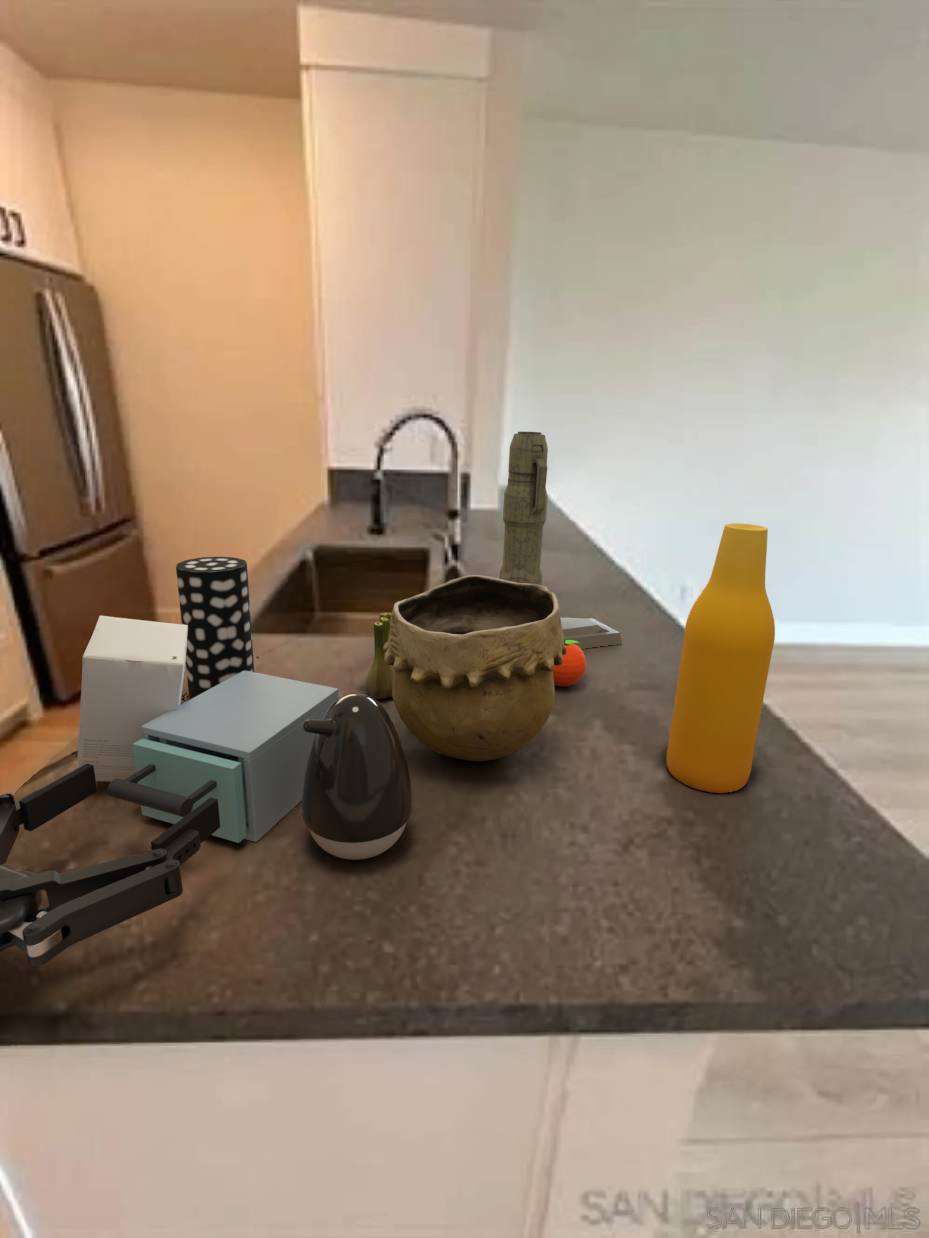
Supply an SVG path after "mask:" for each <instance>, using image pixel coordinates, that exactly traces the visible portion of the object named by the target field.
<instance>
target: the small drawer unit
mask: <svg viewBox="0 0 929 1238" xmlns="http://www.w3.org/2000/svg"><path fill="white" fill-rule="evenodd" d="M339 698H340V697H339V688H338V687H332V686H328V685H322V684H316V683H313V682H312V683H311V682H305V681H301V680H296V679H291V678H286V677H280V676H275V675H270V674H266V673H265V674H264V673H260V672H256V671H254V672H250V671H245V670H244V671H242V672H240V673H238V674H237V675H235V676H233V677H231V678H229V679H227V680H225V681H224V682H222V683H220V684H218V685H216V686H214V687H213V688H211V689H209V690H207V691H205V692H203V693H201V694H200V695H198V696H196V697H194V698H192V699H190V700H189V699H188V700H186V701H185V702H182V704H181V703H180V705H179V707H178V710H172V711H168V712H166V713H165V714H163V715H161V716H159V717H157V718H155V719H153V720H152V721H150V722H148V723H146V724H144V725H142V726H141V732H142V739H147V740H151V741H155V742H159V743H160V740H159V738H163V739H167V740H171V741H175V742H179V743H183V744H187V745H191V746H196V747H200V748H204V749H208V750H212V751H216V752H220V753H224V754H228V755H233V756H237V757H241V758H244V772H245V785H246V798H247V811H248V823H246V833H247V836H246V837H245V838H244V839H243V840H246V841H250V842H254V843H258V842H259V841H260V840H261V838H263V837H264V836H265V835H266V834H267V833H268V832H269V831H270V830H272V829H273V827H275V826H276V825H277V824H278V823H280V821H281V820H282V819H284V817H286V816H287V814H288V815H289V813H291V811H292V810H293V809H294V808H296V806H297V805H298V804H299V803H301V802H302V795H303V786H304V778H305V772H306V767H307V762H308V758H309V754H310V751H311V747H312V744H313V741H314V738H315V735H316V734H315V733H309V732H305V731H304V729H303V723H304V721H305V720H322V719H323V717H324V715H325V714H326V712H327V711H328V709H329V708H330V706H331V705H332V704H333V703H334V702H335V701H336V700H337V699H339Z"/></svg>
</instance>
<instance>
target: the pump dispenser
mask: <svg viewBox="0 0 929 1238" xmlns="http://www.w3.org/2000/svg"><path fill="white" fill-rule="evenodd" d="M303 729H304V731H305V732H309V733H315V734H316V735H315V738H314V741H313V744H312V747H311V751H310V754H309V758H308V762H307V767H306V772H305V778H304V786H303V795H302V801H301V814H302V819H303V822H304V824H305V826H306V827H307V828H308V831H309V833H310V835H311V837H312V839H313V840H314V842H315V843H316V844H317V845H318V846H319V847H320V848H321V849H322V850H324V851H325V852H326V853H328V854H329V855H331V856H334V857H336V858H340V859H344V860H351V861H353V860H356V861H357V860H366V859H370V858H374V857H376V856H379V855H381V854H383V853H385V852H386V851H387V850H389V849H390V848H392V847H393V846H394V845H395V843H397V841H398V840H399V838H400V837H401V836H402V834H403V832H404V830H405V828H406V826H407V824H408V823H407V822H408V821H409V819H410V818H411V816H412V812H413V790H412V784H411V783H412V782H411V776H410V770H409V765H408V762H407V758H406V753H405V750H404V747H403V744H402V742H401V739H400V736H399V733H398V731H397V729H396V726H395V724H394V723H393V720H392V718H391V717H390V714H389V713H388V711H387V710H386V709H385V707H384V706H383V705H382V704H381V702H379V700H378V699H376V698H373V697H372V696H370V694H369V695H368V694H365V693H362V692H361V693H360V692H354V693H348V694H345V695H343V696H341V697H339V699H337V700H336V701H335V702H334V703H333V704H332V705H331V706H330V708H329V709H328V711H327V712H326V714H325V715H324V717H323V719H322V720H305V721H304V723H303Z"/></svg>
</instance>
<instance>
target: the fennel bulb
mask: <svg viewBox="0 0 929 1238" xmlns="http://www.w3.org/2000/svg"><path fill="white" fill-rule="evenodd" d="M391 615H392V612H383V613H379V622H378V621H377V622H373V638H374V639H373V640H374V641H373V643H374V654H373V655H374V656H373V658H372V660H371V662H370V664H369V667H368V669H367V672H366V676H365V688H366V691H367V692H368V693H367V694H369V696H371V697H373V698H375V699H376V700H383V699H389V698H393V697H392V686H393V680H394V676H395V669H394V667H393V665H387V664H386V663H385V653H386V652H385V651H384V647H383V646H384V645H385V644H386V643H387V642H388V638H389V632H390V620H391Z"/></svg>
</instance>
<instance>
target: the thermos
mask: <svg viewBox="0 0 929 1238" xmlns="http://www.w3.org/2000/svg"><path fill="white" fill-rule="evenodd" d="M548 452H549V447H548V442H547V438H546V435H545V434H542V432H540V431H517V433H514V434H513V435H512V439H511V442H510V444H509V453H508V454H509V455H508V479H507V485H506V487H505V490H504V493H503V512H502V521H503V523H504V533H503V534H504V536H503V537H504V538H503V551H502V552H503V556H502V565H501V567H500V570H499V579H502V580H506V581H511V582H516V583H529V584H537V585H541V586H543V572H542V568H541V564H542V563H541V562H542V549H543V533H544V526H545V523H546V522H547V511H548V510H547V509H548V492H547V488H546V487H547V476H548V475H547V474H548V454H549V453H548Z"/></svg>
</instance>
